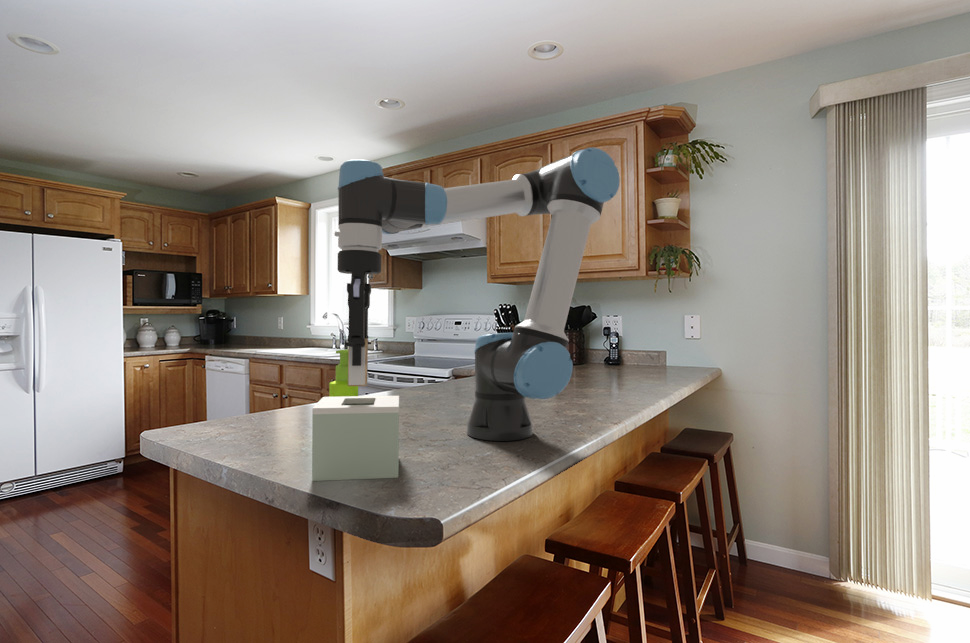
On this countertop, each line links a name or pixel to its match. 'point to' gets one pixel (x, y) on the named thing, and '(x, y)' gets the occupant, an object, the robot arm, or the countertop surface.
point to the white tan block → (365, 363)
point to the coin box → (355, 438)
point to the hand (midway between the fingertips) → (358, 382)
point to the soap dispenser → (342, 379)
